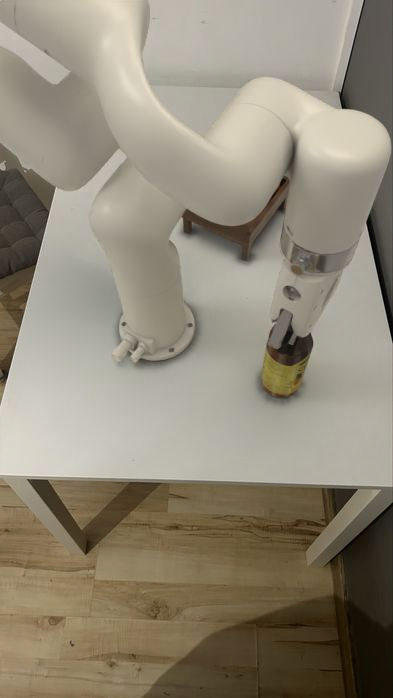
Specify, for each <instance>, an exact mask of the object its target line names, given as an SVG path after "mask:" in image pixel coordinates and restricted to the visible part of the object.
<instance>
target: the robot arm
mask: <svg viewBox="0 0 393 698" xmlns="http://www.w3.org/2000/svg"><path fill="white" fill-rule="evenodd" d="M150 22H151V9H150V2H149V0H0V23H1V24H3V25H4V26H5V27H7V28H8V29H9V30H11V31H12V32H14V33H15V34H17V35H18V36H19V37H21V38H22V39H24V40H26V41H27V42H28V43H29V44H31V45H32V46H34V47H35V48H37V49H38V50H40V51H41V52H42V53H44V54H45V55H46V56H48V57H49V58H50V59H52V60H54V61H55V62H57V63H58V64H59V65H61V66H62V67H63V68H65V69H66V70H68V71H69V72H68V73H67V74H66V75H65V76H64V77H63V78H62V79H61V80H60V81H59V82H58V83H57V84H56V83H52V82H51V81H49V80H47V79H46V78H45V77H44V76H42V75H41V74H40V73H39V72H37V71H36V70H35V68H33V67H32V66H31V65H30V64H29V63H28V62H27V61H26V60H25V59H24V58H22V57H21V56H20V55H18V54H17V53H15V52H14V51H12V50H11V49H8V48H6V47H4V46H1V45H0V144H1V145H2V146H3V147H4V148H6V150H8V151H9V152H10V153H11V154H12V155H14V156H15V157H17V158H18V159H19V160H20V161H21V162H23V163H24V164H25V165H26V166H27V167H28V168H29V169H31V170H32V171H33V172H35V173H36V174H37V175H38V176H40V177H41V178H42V179H43V180H45V181H46V182H47V183H49V184H50V185H51V186H53V187H55V188H57V189H58V190H62V191H63V192H74V191H79V190H81V189H82V188H84V186H86V185H87V184H88V183H89V182H90V181H91V180H92V179H93V178H94V177H95V176H96V175H97V174H98V173H99V172H100V171H101V170H102V168H103V167H104V166H105V165H106V164H107V163H108V162H109V161H110V160H111V158H112V157H113V156H114V155H115V153H116V152H117V151H118V150H119V151H121V152H122V153H123V154H124V156H125V157H126V158H125V159H124V161H123V162H122V163H120V164H119V165H118V167H117V168H116V169H115V170H114V172H113V173H111V175H110V176H109V177H108V179H107V180H106V181H105V183H104V184H103V185H102V186H101V188H100V189H99V191H98V192H97V194H96V195H95V197H94V199H93V200H92V203H91V205H90V209H89V215H88V223H89V227H90V229H91V231H92V233H93V235H94V238H96V240H97V242H98V243H99V245H100V247H101V248H102V250H103V252H104V254H105V256H106V258H107V261H108V263H109V267H110V270H111V274H112V277H113V281H114V283H115V288H116V289H117V290H116V291H117V294H118V299H119V302H120V305H121V309H122V312H123V313H122V315H121V317H120V319H119V324H118V332H119V337H120V339H121V342H120V343H119V345H117V346H116V348H115V349H114V350H113V351H112V353H111V354H110V357H111V358H112V359H113V360H114V361H116V362H118V363H122V361H123V360H124V358H125V357H126V356H127V355H128V352H129V353H130V354H131V355H130V356H129V359H130V360H131V361H132V362H133V363H134V364H135V363H136V364H137V363H138V362H139V360H140V359H142V360H146V361H152V362H153V361H154V362H155V361H165V360H169V359H171V358H174V357H176V356H178V355H179V354H181V353H182V352H183V351H185V350H186V349H187V348H188V346H189V345H190V344H191V342H192V340H193V338H194V336H195V331H196V323H195V322H196V321H195V316H194V314H193V312H192V310H191V309H190V307H189V306H188V305H187V304H186V303H185V302H184V301H185V300H184V291H183V290H184V289H183V280H182V267H181V260H180V254H179V251H178V248H177V246H176V245H175V244H174V242H172V241H171V239H170V238H171V235H172V233H173V231H174V229H175V228H176V226H177V224H178V223H179V221H180V220H181V218H182V215H183V213H184V212H185V210H186V209H188V210H190V211H191V212H193V213H195V214H197V215H198V216H200V217H202V218H204V219H206V220H208V221H211V222H213V223H217V224H220V225H225V226H238V225H243V224H245V223H248V222H249V221H251V220H253V219H254V218H255V217H256V216H258V215H259V214H260V213H261V212H262V210H263V209H264V208H265V206H266V205H267V203H268V201H269V200H270V198H271V197H272V195H273V193H274V192H275V190H276V189H277V187H278V185H279V183H280V182H281V180H282V178H283V176H287V177H288V178H289V181H290V187H289V193H288V198H287V204H286V208H285V209H284V215H283V222H282V227H281V232H280V233H281V235H280V239H279V251H280V254H281V256H282V258H283V260H282V263H281V266H280V269H279V272H278V277H277V280H276V284H275V287H274V292H273V294H272V295H273V296H272V299H271V303H270V304H271V305H270V312H269V320H270V322H271V323H272V324H273V323H274V324H275V323H276V324H275V327H274V330H273V332H272V335H271V337H270V340H269V342H268V345H269V346H271V347H273V348H274V349H275V350H276V351H277V352H279V353H281V354H287V355H289V356H291V357H292V356H293V355H294V353H295V350H296V347H297V343H298V340H299V338H298V337H297V336H300V337H305V336H307V335H308V334H309V333H310V332H311V333H312V330H313V329H314V328H315V325H317V322H319V319H320V318H321V316H322V314H323V313H324V311H325V310H326V307H327V306H328V304H329V303H330V301H331V300H332V297H333V296H334V294H335V293H336V290H337V288H338V286H339V284H340V281H341V280H342V279H341V278H342V275H343V271H344V270H345V269H346V268H347V267H349V265H350V264H351V262H352V260H353V258H354V255H355V253H356V250H357V247H358V245H359V243H360V239H361V238H362V237H361V236H362V234H363V231H364V228H365V226H366V223H367V220H368V218H369V215H370V213H371V210H372V208H373V205H374V202H375V200H376V197H377V195H378V191H379V189H380V186H381V184H382V181H383V179H384V176H385V173H386V171H387V168H388V166H389V161H390V158H391V156H392V141H391V136H390V133H389V132H388V130H387V128H386V127H385V125H384V124H383V123H382V122H381V121H379V120H378V119H377V118H375V117H374V116H372V115H370V114H368V113H366V112H364V111H361V110H357V109H349V108H347V109H346V108H336V107H334V106H331V104H328V103H325V102H324V101H323V100H320V99H319V98H317V97H315V96H314V95H311V94H310V93H308V92H306V91H305V90H303V89H301V88H300V87H298V86H296V85H294V84H292V83H290V82H288V81H286V80H283V79H281V78H277V77H273V76H259V77H256V78H253V79H251V80H249V81H248V82H246V83H245V84H244V85H243V86H242V87H241V88H240V89H239V90H238V91H237V93H236V94H235V95H234V96H233V98H232V99H231V101H230V102H229V103H228V104H227V106H226V107H225V109H224V110H223V111H222V112H221V114H220V115H219V116H218V117H217V119H216V120H215V121H214V123H213V124H212V125H211V126H210V128H209V129H208V130H207V132H206V133H205V134H204V136H202V135H200V134H199V133H197V132H196V131H194V130H192V129H191V128H190V127H188V126H187V125H186V124H184V123H183V122H182V121H180V119H178V118H177V117H176V116H175V115H174V114H172V112H171V111H170V110H169V109H168V108H167V107H166V106H165V105H164V104H163V103H162V101H161V100H160V98H159V97H158V96H157V94H156V93H155V90H154V89H153V87H152V85H151V83H150V81H149V78H148V76H147V72H146V69H145V63H144V58H143V52H144V49H145V46H146V42H147V37H148V34H149V29H150ZM288 327H291V328H293V332H290V331H288Z"/></svg>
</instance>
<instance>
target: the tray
mask: <svg viewBox="0 0 393 698" xmlns="http://www.w3.org/2000/svg"><path fill="white" fill-rule="evenodd" d="M289 187H290V181H289V178H288V177H287V176H283V178H282V180H281V182H280V186H279V188H278V189H277V191H276V192H275V193H273V195H272V197H271V198H270V200H269V201H268V203H267V205H266V206H265V208H264V209H263V210H262V212H261V213H260V214H259V215H258V216H256V217H255V218H254V219H253V220H251V221H249V222H248V223H245V224H243V225H238V226H225V225H220V224H217V223H213V222H211V221H208V220H206V219H204V218H202V217H200V216H198V215H197V214H195V213H193V212H191V211H190V210H188V209H186V210H185V212H184V213H183V215H182V217H181V218H182V226H183V233H184V234H186V235H191V233H192V232H193V224H195V225H198V226H199V227H202V228H204V229H206V230H208V231H211V232H213V233H215V234H216V235H217V234H218V235H220V236H222V237H224V238H226V239H228V240H231V241H233V242H235V243H238V244H239V245H241V256H240V259H241V260H243V261H246V262H247V261H249V259H250V258H251V249H252V244H253V243H254V241H255V240H256V239H257V237H258V236H259V234H260V233H261V232H262V230H263V229H264V227H265V226H266V225H267V223H269V221H270V220H271V218H272V217H273V215H274V214H276V211H277V210H280V211H282V212H285V210H286V204H287V198H288V193H289Z"/></svg>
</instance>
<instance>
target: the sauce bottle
mask: <svg viewBox="0 0 393 698" xmlns="http://www.w3.org/2000/svg"><path fill="white" fill-rule="evenodd" d="M275 324H276V322H274V324H273V326H272V327H271V328H270V331H269V333H268V338H267V341H266V345H265V351H264V356H263V362H262V368H261V375H260V377H261V378H260V381H261V385H262V387H263V389H264V391H265V392H266V393H267V394H269V395H270V396H272V397H274V398H278V399H286V398H290V397H292V396H293V395H295V393H296V392H297V390H299V388H300V387H301V384H302V382H303V380H304V379H303V378H304V375H305V372H306V369H307V367H308V364H309V361H310V357H311V355H312V352H313V348H314V337H313V334H312V331H311V332H310V333H309V334H308V335H307V336H305V337H300V336H297V337H298V338H299V340H298V343H297V347H296V350H295V353H294V355H293V356H292V357H291V356H289V355H287V354H281V353H279V352H277V351H276V350H275V349H274V348H273V347H271V346H269V345H268V342H269V340H270V337H271V335H272V332H273V330H274V327H275ZM288 331H290V332H293V328H291V327H288Z"/></svg>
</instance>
